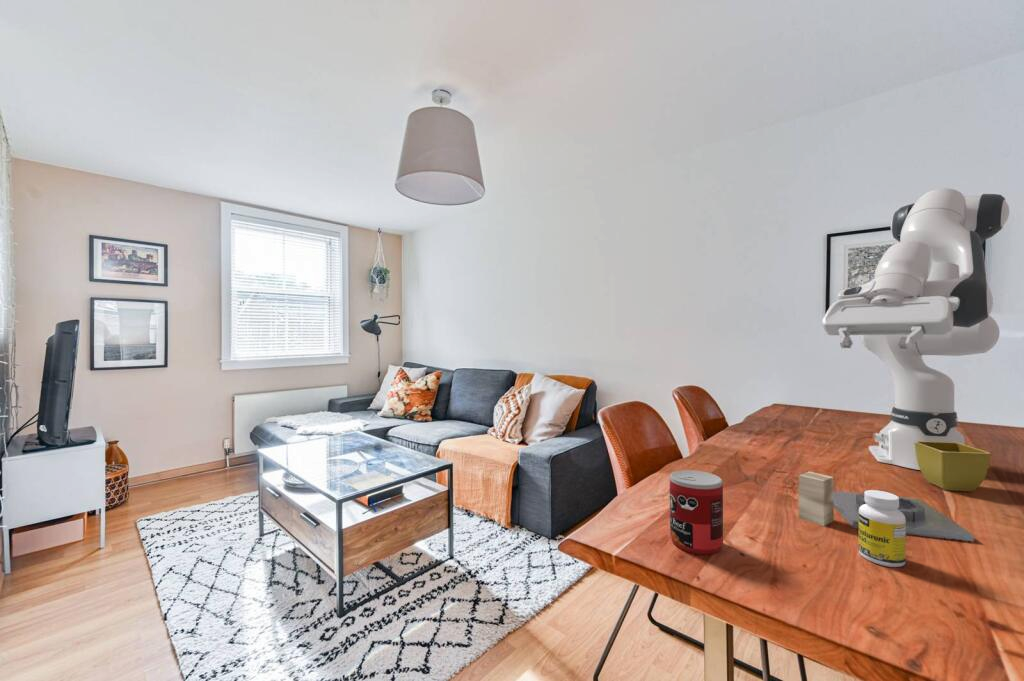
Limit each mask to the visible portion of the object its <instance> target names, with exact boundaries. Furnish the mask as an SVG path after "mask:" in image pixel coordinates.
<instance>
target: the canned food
mask: <svg viewBox="0 0 1024 681" xmlns="http://www.w3.org/2000/svg"><path fill="white" fill-rule="evenodd" d="M723 488H724V485H723V479H722V478H721V477H720V476H718V475H716V474H713V473H710V472H707V471H702V470H693V469H690V470H689V469H687V470H686V469H684V470H683V469H681V470H675V471H673V472H670V474H669V528H670V529H669V530H670V531H669V532H670V533H669V535H670V538H671V542H672V544H673V545H674V546H676V547H677V548H679V549H680V550H683V551H685V552H688V553H691V554H697V555H713V554H717V553H719V552H720V551H722V550H721V549H722V548H723V545H724V489H723Z"/></svg>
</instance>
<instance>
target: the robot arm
mask: <svg viewBox="0 0 1024 681" xmlns="http://www.w3.org/2000/svg"><path fill="white" fill-rule="evenodd" d="M1009 216H1010V208H1009V204H1008V202H1007V201H1006V198H1005V197H1004V196H1003V195H1001V194H997V193H983V194H982V195H964V194H963V193H961V192H960V191H958V190H956V189H954V188H946V187H944V188H943V187H942V188H935V189H933V190H930V191H928V192H926V193H924V194H922V195H921V196H920V197H919V198H918V199H917V201H916V202H914V203H911V204H907V205H904V206H901V207H900V208H899V209H897V210H896V211H895V212H894V214H893V216H892V219H891V221H890V231H891V234H892V236H893V239H895V240H896V241H898V242H897V243H894V244H892V245H891V246H890V247H888V248H887V249H886V250H885V252H883V255H882V256H881V258H880V259H879V262H878V263H877V265H876V268H875V270H874V276H873V277H874V278H872V279H871V281H868V282H866V283H863V284H861V285H858V286H854V287H851V288H846V289H841V290H840V291H839V292H838V294H837V300H836V301H834V302H832V304H830V305H829V307H828V309H827V311H826V312H825V314H824V316H823V318H822V321H821V325H822V327H823V329H824V331H825V333H826V334H827V335H829V336H840V338H841V339H840V341H839V345H840V347H841V349H851V348H852V346H853V343H854V342H853V340H852V338H851V337H850V336H859V338H860V341H861V344H862V345H863V346H864V347H865V349H867V350H868V351H870V352H871V353H873V354H874V355H875V356H876V357H878V358H879V359H880V360H881V361H882V362H883V363H884V364H885V366H886V367H887V369H888V371H889V373H890V376H891V378H892V379H891V380H892V384H893V396H894V399H893V400H894V406H893V407H892V409H891V411H890V417H889V418H890V422H888V424H886V425H885V426H884V427H883V428H882V429H881V430H880V431H879V433H877V432H876V433H874V442H876V443H878V445H869V446H868V451H869V452H870V453H871V454H872V456H873V457H874V458H875V459H876V461H877V462H880V463H884V464H890V465H895V466H899V467H902V468H907V469H911V470H918V471H921V470H920V468H919V466H918V462H917V457H916V450H915V444H914V442H915V441H924V442H953V443H960V444H964V445H966V444H965V438H964V435H963V434H962V432H959V431H958V430H957V428H956V427H958V421H959V419H958V413H957V412H956V411H955V384H954V381H953V380H952V378H951V377H950V376H948V375H947V374H945V373H944V372H942V371H940V370H937V369H934V368H932V367H929V366H928V365H927V364H926V363H925V361H924V360H923V356H942V357H943V356H947V357H949V356H950V357H951V356H952V357H960V356H969V355H978V354H985V353H987V352H989V351H990V350H992V349H993V348H994V347H995V346H996V344H997V343H998V341H999V338H1000V327H999V325H998V323H997V321H996V320H995V318H993V317H992V316H991V315H990V314H991V312H992V310H993V304H994V303H993V302H994V301H993V293H992V291H991V288H990V287H989V285H988V283H987V271H986V269H987V268H986V263H985V252H984V248H983V244H984V242H985V240H988V239H990V238H992V237H994V236H995V235H997V233H999V232H1000V231H1001V230H1002V229H1003V228H1004V225H1005V224H1006V223H1007V222H1008V219H1009Z"/></svg>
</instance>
